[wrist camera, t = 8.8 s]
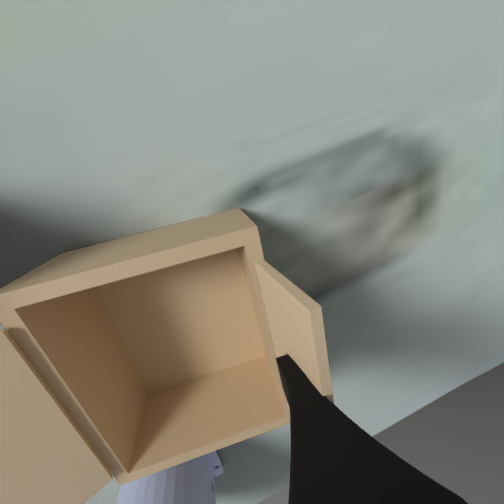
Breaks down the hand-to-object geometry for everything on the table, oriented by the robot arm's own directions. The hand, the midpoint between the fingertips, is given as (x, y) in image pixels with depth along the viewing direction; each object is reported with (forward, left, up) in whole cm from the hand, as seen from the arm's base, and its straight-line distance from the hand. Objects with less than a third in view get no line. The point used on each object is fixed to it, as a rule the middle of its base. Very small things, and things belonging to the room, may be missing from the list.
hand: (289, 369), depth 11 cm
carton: (0, +6, -8) cm, 10 cm away
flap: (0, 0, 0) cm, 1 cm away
